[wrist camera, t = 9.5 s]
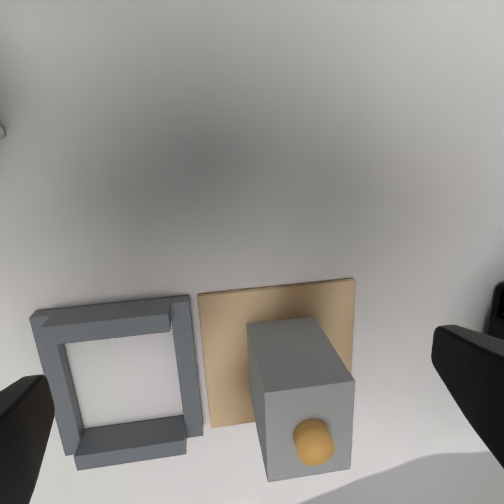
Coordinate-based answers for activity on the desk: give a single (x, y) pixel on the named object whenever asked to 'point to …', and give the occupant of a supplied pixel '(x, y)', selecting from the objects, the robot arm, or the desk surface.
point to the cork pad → (261, 310)
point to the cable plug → (299, 398)
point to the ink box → (1, 132)
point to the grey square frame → (113, 326)
